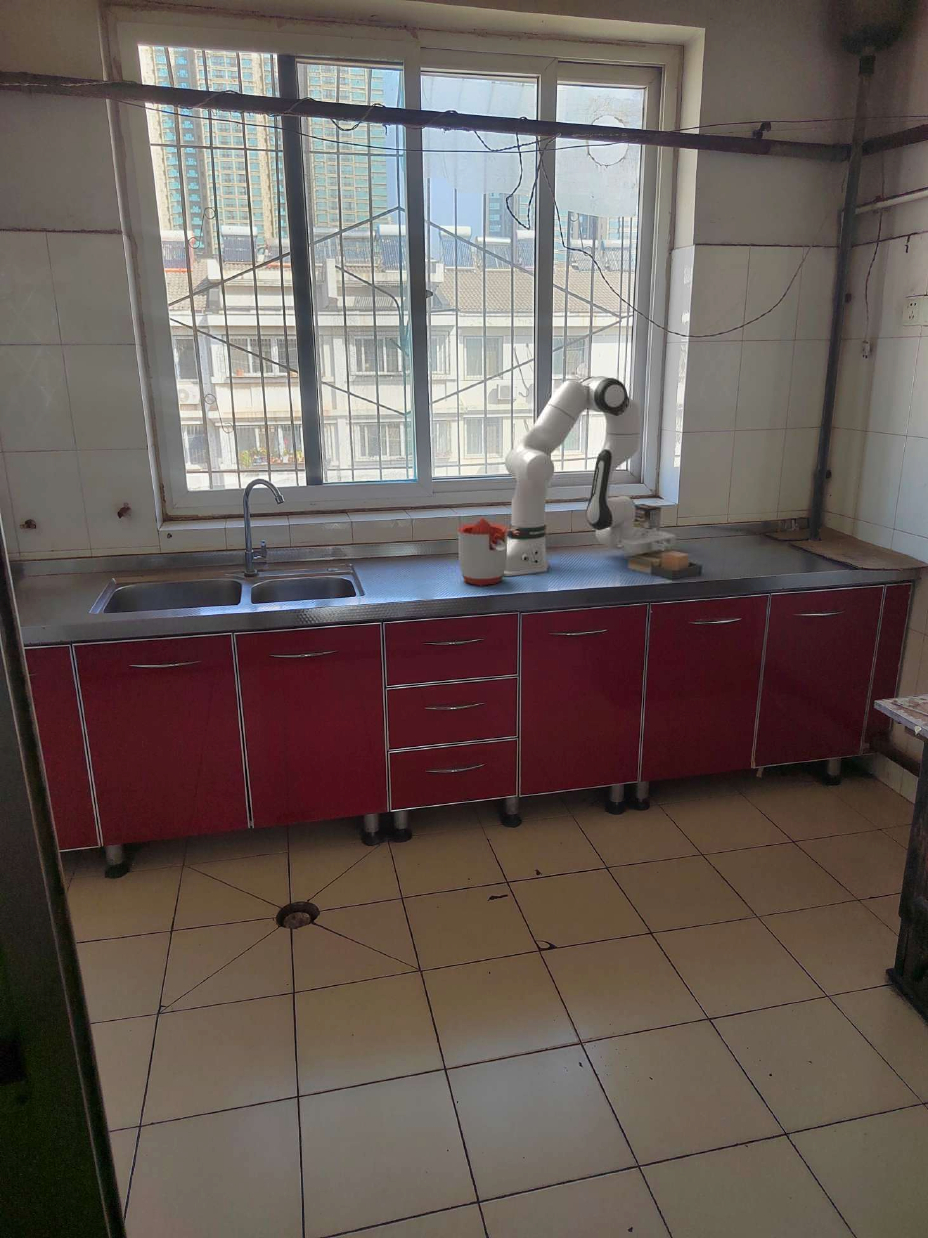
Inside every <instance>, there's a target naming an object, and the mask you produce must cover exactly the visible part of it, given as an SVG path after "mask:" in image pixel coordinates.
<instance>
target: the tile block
mask: <svg viewBox="0 0 928 1238" xmlns="http://www.w3.org/2000/svg"><path fill="white" fill-rule="evenodd" d="M661 553H662V557H661V567H662V568H666V569H670V570H678V569H683V568H687V567H689V562H690V554H689V553H684V552H681V551H680V552H679V551H675V550H669V551H665V552H661Z"/></svg>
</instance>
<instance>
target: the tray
mask: <svg viewBox="0 0 928 1238" xmlns="http://www.w3.org/2000/svg"><path fill="white" fill-rule="evenodd" d="M702 566H703V565H702V564H700V563H696V562H691V561H689V567H687V568H683V569H678V570H670V569H666V568H662V567H658V566H655V565H651V574H652V575H651V574H650V575H651V576H654V575H655V576H654V577H658V576H659V577H660V578H662V579H665V578H666V579H665V580H670V581H673V580H674V581H678V580H682V579H681V578H683V579H686V577H687V578H691V577H695V575H696V576H699V574H700V575H702ZM690 576H691V577H690Z"/></svg>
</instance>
